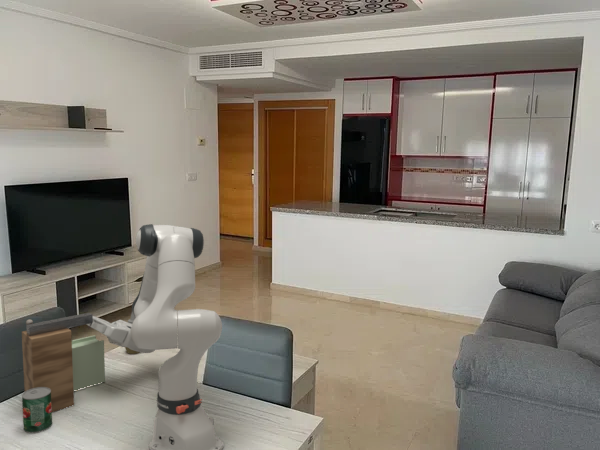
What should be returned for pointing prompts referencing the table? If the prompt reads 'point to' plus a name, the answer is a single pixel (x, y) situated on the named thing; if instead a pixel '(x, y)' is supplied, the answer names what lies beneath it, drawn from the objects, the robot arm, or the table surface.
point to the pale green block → (88, 362)
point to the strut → (59, 324)
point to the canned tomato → (37, 409)
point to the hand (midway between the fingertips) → (85, 321)
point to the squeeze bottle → (127, 347)
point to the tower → (49, 365)
